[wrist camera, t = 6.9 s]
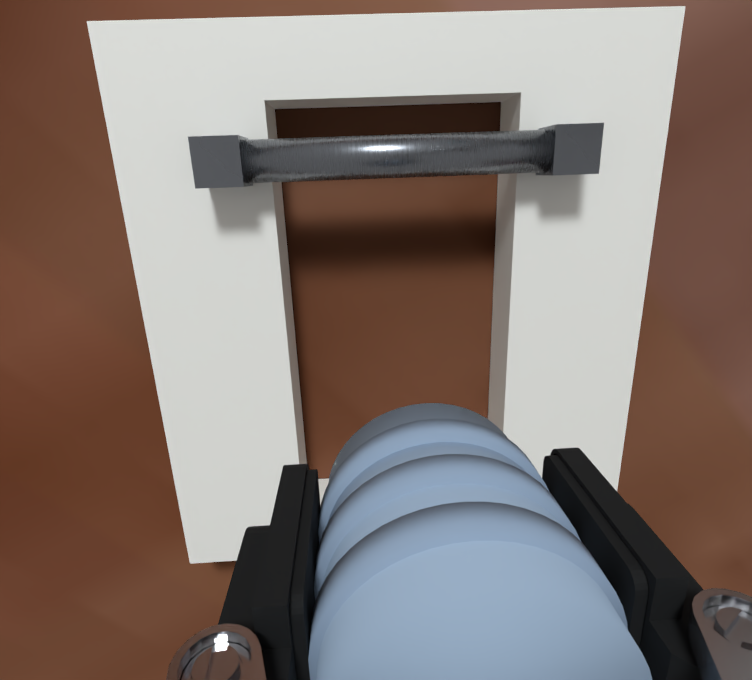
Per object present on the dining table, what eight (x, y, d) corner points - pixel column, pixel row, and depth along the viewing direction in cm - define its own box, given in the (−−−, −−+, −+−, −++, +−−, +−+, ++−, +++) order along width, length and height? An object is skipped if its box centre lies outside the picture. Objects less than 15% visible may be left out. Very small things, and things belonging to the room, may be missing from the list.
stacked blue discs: (535, 391, 12) (692, 570, 6) (521, 569, 13) (639, 829, 8) (313, 403, 11) (286, 598, 6) (328, 582, 13) (316, 859, 8)
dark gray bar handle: (581, 127, 18) (604, 122, 16) (577, 173, 19) (598, 173, 17) (202, 139, 18) (187, 136, 16) (209, 187, 18) (195, 188, 16)
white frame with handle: (644, 26, 19) (685, 6, 17) (587, 504, 26) (610, 537, 24) (120, 40, 19) (86, 21, 16) (204, 527, 26) (190, 563, 23)
